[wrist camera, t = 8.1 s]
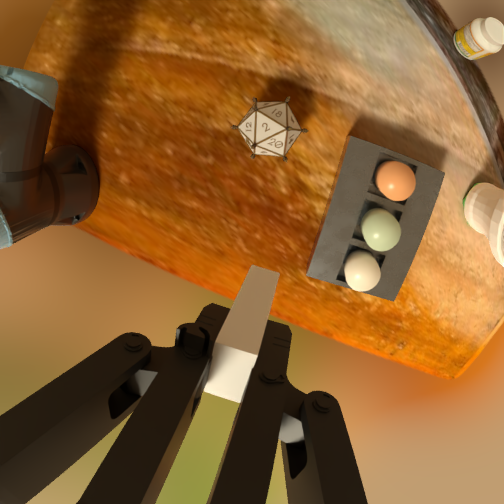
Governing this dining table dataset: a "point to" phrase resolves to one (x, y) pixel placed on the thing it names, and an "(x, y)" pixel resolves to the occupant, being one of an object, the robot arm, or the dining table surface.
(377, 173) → the terracotta button
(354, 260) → the ivory button
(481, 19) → the supplement bottle
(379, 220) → the sage button
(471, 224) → the cup
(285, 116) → the game die
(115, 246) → the dining table surface
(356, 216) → the panel
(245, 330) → the robot arm
